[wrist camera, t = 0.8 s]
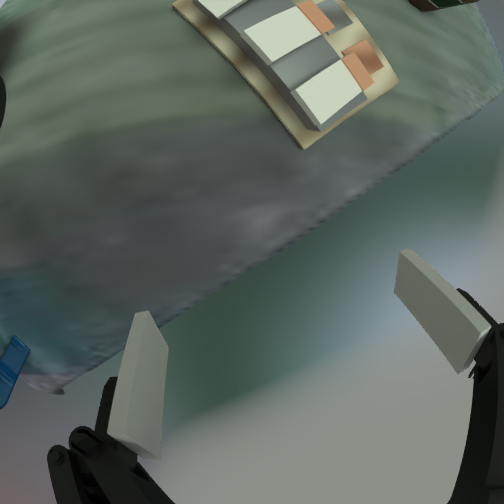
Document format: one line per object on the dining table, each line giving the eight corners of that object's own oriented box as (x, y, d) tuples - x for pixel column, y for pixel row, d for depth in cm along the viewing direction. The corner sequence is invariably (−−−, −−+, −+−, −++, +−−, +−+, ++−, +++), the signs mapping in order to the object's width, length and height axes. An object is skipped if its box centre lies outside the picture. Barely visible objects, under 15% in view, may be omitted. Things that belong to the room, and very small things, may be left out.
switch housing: (193, 3, 22) (190, -12, 18) (241, -24, 21) (246, -40, 16) (307, 129, 33) (321, 132, 29) (349, 99, 31) (367, 99, 27)
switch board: (173, 8, 23) (171, 3, 22) (284, -48, 19) (288, -54, 18) (301, 148, 36) (305, 149, 34) (394, 82, 32) (401, 82, 30)
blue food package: (31, 350, 47) (-1, 428, 25) (19, 362, 49) (-8, 431, 27) (13, 334, 44) (-24, 410, 22) (4, 348, 46) (-27, 415, 24)
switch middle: (237, 39, 21) (244, 29, 19) (300, 8, 21) (311, -1, 19) (264, 68, 23) (273, 61, 21) (323, 34, 23) (335, 27, 21)
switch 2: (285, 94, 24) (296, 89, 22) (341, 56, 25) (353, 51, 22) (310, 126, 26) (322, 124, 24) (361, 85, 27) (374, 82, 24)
